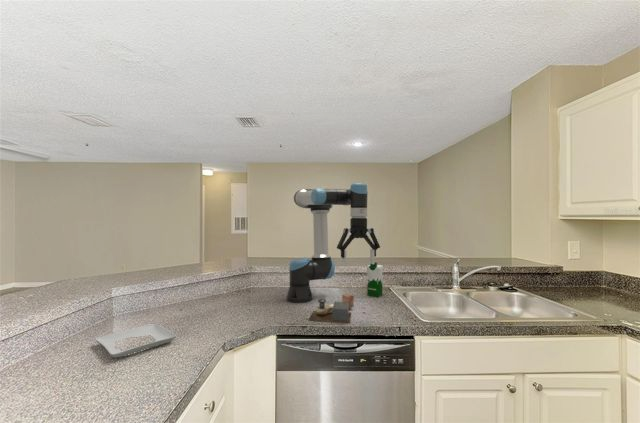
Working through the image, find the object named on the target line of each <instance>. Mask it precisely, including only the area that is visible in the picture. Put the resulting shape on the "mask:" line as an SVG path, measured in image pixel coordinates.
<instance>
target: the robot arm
mask: <svg viewBox="0 0 640 423" xmlns="http://www.w3.org/2000/svg"><path fill="white" fill-rule="evenodd" d="M293 202H294V204H295V205H296V206H298V207H299V208H303V209H310V213H311V214H312V216H313V217H312V218H313V219H312V222H313V223H312V224H313V229H312V230H313V254H312V255H311V260H310V258H309V257H300V258H295V259H292V260H291V261H290V262H289V268H288V270H289V286H288V290H287V293H286V299H285V300H286V301H287V302H290V303H295V304H296V303H298V304H300V303H301V304H302V303H309V302H311V301H313V292H312V289H311V287H310V281H318V280H328V279H331V278H332V277H333V276H334V274H335V268H336V265H335V261H334V260H333V259H332V256H331V255H330V254H329V236H328V235H329V233H328V230H329V229H328V213H330V209H333V205H334V206H336V205H338V206H350V213H349V214H350V220H349V221H350V228H348V227H347V228H346V227H344V228H343V232H342V234H341V237H340V239H339V241H338V244H337V245H336V249H337V250H339V251H340V258H342V265H343V266H345V267H346V266H347V248H348V246H350V244H351V243H352V242H353V240H354V239H364V240H365V241H366V243H367V244H368V245H369V247H370V250H369V254H370V256H369V264H370V263H371V264H374V262H375V257H376V256H377V250H378V249H380V248H381V246H380V244H379V241H378V239H377V236H376V235H375V231H374V230H375V229H374V228H373V227H369V228H368V218H367V217H368V185H367V183H363V182H362V183H361V182H357V183H356V182H354V183H351V184H350V189H347V188H346V189H343V188H342V189H341V188H321V187H318V188H312V189H311V188H304V189H303V188H302V189H299V190H297V191H295V193H294V195H293ZM349 233H350V235H349ZM367 233H368V234H369V236H370V237H369V236H368V234H367ZM348 235H349V236H348ZM347 237H348V238H347ZM346 238H347V239H346ZM370 238H371V239H370Z"/></svg>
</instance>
